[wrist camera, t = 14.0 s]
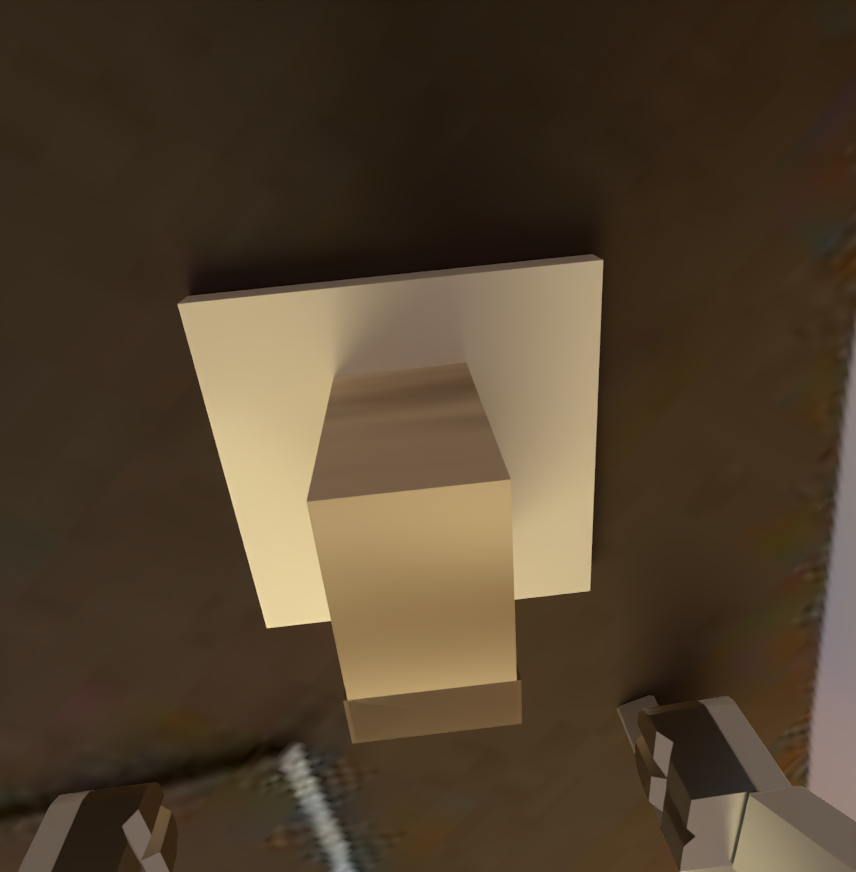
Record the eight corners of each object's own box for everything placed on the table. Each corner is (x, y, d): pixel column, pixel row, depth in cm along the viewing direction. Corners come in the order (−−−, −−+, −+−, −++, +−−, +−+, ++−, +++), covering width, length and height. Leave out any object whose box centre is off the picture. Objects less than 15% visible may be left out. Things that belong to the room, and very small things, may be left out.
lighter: (676, 748, 28) (775, 956, 21) (640, 760, 28) (727, 970, 21) (634, 649, 25) (733, 852, 18) (595, 664, 25) (677, 869, 18)
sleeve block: (330, 377, 18) (301, 502, 12) (469, 362, 18) (516, 479, 12) (361, 564, 21) (352, 743, 15) (480, 550, 21) (521, 723, 15)
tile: (271, 608, 23) (266, 628, 22) (188, 295, 18) (177, 304, 17) (582, 573, 23) (589, 590, 22) (592, 254, 18) (603, 259, 17)
